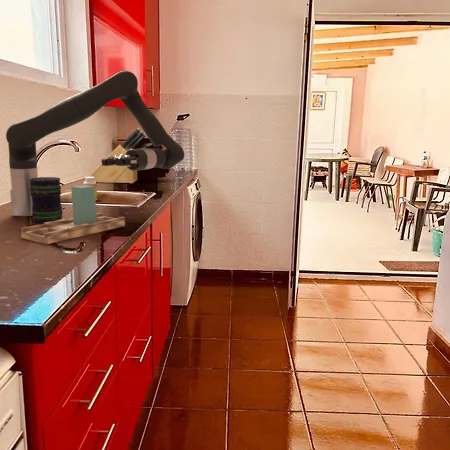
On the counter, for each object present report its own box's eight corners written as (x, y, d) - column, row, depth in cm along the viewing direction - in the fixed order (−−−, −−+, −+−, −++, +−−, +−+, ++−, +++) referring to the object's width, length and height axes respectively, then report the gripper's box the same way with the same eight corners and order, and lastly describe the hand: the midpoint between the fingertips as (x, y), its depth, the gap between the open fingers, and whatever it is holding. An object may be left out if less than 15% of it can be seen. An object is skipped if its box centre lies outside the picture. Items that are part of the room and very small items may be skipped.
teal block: (86, 221, 152) (84, 184, 149) (96, 223, 149) (94, 186, 146) (73, 223, 148) (71, 186, 145) (83, 225, 145) (81, 187, 142)
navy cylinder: (32, 220, 162) (28, 177, 159) (61, 218, 166) (59, 176, 163) (33, 225, 153) (29, 181, 150) (64, 223, 157) (61, 179, 154)
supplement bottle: (98, 200, 204) (97, 177, 201) (85, 201, 201) (84, 178, 199) (96, 198, 208) (94, 176, 206) (83, 199, 206) (82, 176, 204)
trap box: (100, 221, 161) (100, 212, 161) (125, 225, 155) (124, 216, 154) (21, 238, 137) (20, 227, 137) (46, 244, 131) (45, 232, 130)
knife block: (149, 183, 262) (148, 128, 255) (87, 183, 262) (84, 127, 255) (153, 181, 273) (151, 127, 266) (93, 180, 273) (90, 127, 266)
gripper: (127, 147, 168) (89, 150, 154) (154, 149, 161) (116, 151, 147) (128, 168, 170) (90, 172, 156) (154, 170, 162) (117, 175, 148)
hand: (103, 162), depth 151 cm, fingers closed
